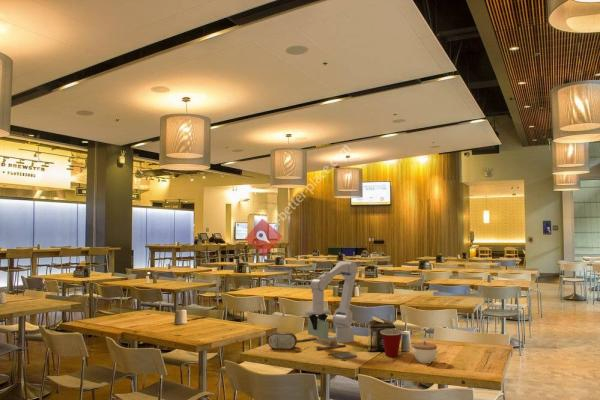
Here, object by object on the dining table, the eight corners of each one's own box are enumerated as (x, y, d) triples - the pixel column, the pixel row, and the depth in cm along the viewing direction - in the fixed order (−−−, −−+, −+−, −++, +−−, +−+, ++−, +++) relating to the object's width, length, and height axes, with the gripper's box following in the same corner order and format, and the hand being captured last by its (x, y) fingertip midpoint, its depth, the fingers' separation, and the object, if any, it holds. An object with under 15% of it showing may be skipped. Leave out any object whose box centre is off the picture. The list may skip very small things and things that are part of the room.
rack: (320, 340, 282) (320, 337, 283) (345, 348, 264) (345, 344, 264) (292, 344, 273) (292, 340, 273) (317, 352, 254) (317, 348, 254)
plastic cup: (375, 356, 247) (375, 330, 248) (388, 352, 255) (387, 328, 256) (394, 359, 240) (394, 333, 241) (407, 356, 248) (406, 330, 249)
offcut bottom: (323, 341, 277) (323, 337, 277) (337, 345, 267) (337, 341, 267) (316, 342, 275) (316, 338, 275) (329, 346, 265) (329, 342, 265)
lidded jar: (411, 359, 241) (410, 338, 242) (434, 359, 241) (433, 339, 242) (415, 364, 231) (415, 343, 231) (439, 365, 230) (439, 343, 231)
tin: (297, 348, 263) (297, 332, 263) (296, 350, 259) (296, 333, 260) (268, 348, 264) (268, 331, 265) (267, 349, 261) (267, 332, 262)
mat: (335, 350, 260) (335, 348, 260) (356, 356, 245) (356, 355, 245) (320, 352, 255) (320, 350, 255) (341, 359, 240) (341, 357, 241)
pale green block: (312, 333, 269) (312, 317, 270) (328, 337, 257) (328, 321, 258) (307, 333, 267) (307, 318, 268) (323, 338, 256) (323, 322, 256)
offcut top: (324, 337, 276) (324, 334, 276) (336, 340, 268) (336, 336, 268) (318, 338, 273) (318, 334, 274) (331, 341, 266) (331, 337, 266)
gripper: (325, 300, 271) (325, 326, 270) (302, 302, 263) (301, 329, 262) (333, 302, 265) (333, 329, 264) (309, 304, 257) (309, 331, 256)
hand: (318, 329), depth 263 cm, fingers closed on pale green block, 3 cm apart
